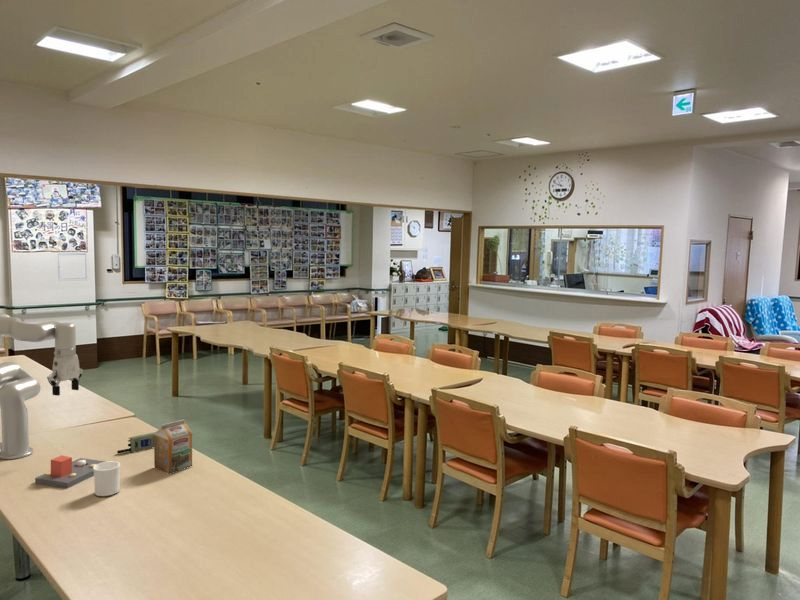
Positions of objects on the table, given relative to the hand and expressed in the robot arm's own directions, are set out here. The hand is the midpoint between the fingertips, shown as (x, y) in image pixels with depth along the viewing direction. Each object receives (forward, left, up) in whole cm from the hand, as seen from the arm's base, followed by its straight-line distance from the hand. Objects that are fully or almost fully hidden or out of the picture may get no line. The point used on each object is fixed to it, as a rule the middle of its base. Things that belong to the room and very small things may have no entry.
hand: (65, 392), depth 243 cm
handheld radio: (+24, +20, -29) cm, 42 cm away
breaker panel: (+18, -14, -28) cm, 36 cm away
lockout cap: (+16, -19, -26) cm, 36 cm away
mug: (+42, -23, -28) cm, 56 cm away
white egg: (+16, -9, -27) cm, 33 cm away
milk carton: (+49, +5, -28) cm, 57 cm away
